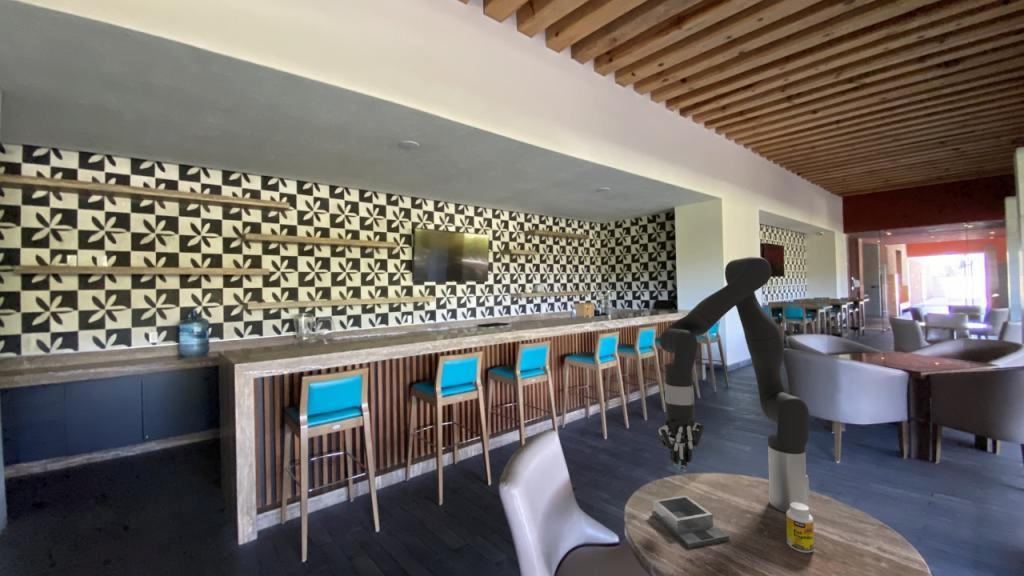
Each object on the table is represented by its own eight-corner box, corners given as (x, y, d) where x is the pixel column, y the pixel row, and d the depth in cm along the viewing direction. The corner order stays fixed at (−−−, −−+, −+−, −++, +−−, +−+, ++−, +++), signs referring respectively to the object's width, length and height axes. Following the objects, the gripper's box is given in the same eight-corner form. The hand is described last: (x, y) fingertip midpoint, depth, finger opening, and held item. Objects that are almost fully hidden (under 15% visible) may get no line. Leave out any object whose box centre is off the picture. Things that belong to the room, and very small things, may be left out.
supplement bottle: (791, 552, 100) (790, 510, 101) (783, 538, 106) (782, 499, 106) (818, 555, 99) (816, 513, 99) (809, 542, 104) (808, 502, 104)
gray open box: (687, 509, 121) (687, 494, 121) (728, 540, 105) (728, 524, 105) (651, 515, 118) (651, 500, 118) (688, 548, 102) (688, 531, 103)
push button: (694, 473, 111) (693, 436, 111) (674, 473, 111) (673, 436, 111) (686, 463, 117) (685, 428, 117) (667, 463, 118) (666, 428, 118)
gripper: (692, 395, 120) (693, 454, 120) (649, 399, 116) (651, 460, 116) (710, 401, 113) (712, 464, 112) (665, 406, 109) (667, 471, 109)
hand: (681, 461), depth 114 cm, fingers closed on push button, 3 cm apart
